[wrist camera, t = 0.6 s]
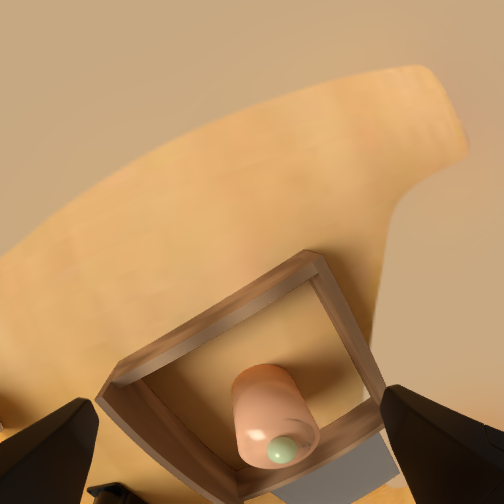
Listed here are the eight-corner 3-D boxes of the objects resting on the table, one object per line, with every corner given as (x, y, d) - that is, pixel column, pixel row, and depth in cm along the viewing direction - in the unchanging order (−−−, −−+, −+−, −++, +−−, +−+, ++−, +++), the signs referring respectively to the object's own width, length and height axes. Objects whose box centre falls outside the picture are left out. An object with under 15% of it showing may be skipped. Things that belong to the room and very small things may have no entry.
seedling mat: (313, 518, 26) (314, 520, 25) (266, 486, 24) (267, 489, 23) (398, 471, 27) (400, 472, 26) (375, 427, 25) (377, 429, 24)
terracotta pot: (252, 424, 23) (268, 492, 14) (218, 385, 22) (222, 456, 13) (304, 395, 23) (339, 457, 14) (275, 352, 22) (305, 415, 14)
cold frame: (233, 477, 23) (238, 518, 17) (118, 361, 20) (94, 400, 14) (379, 396, 24) (409, 427, 18) (303, 249, 21) (335, 258, 16)
